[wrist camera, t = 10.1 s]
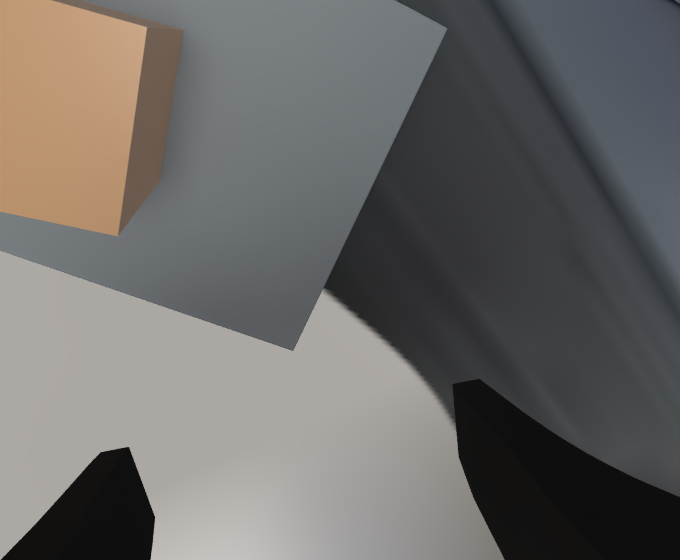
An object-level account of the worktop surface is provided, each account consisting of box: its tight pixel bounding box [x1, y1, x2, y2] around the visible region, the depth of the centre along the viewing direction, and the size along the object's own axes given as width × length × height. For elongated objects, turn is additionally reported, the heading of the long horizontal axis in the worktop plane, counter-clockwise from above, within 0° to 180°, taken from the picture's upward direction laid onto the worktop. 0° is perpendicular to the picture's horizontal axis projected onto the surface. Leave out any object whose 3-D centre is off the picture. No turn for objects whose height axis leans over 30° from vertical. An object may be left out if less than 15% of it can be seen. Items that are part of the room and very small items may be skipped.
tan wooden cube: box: [0, 0, 184, 236], centre depth 15 cm, size 5×5×6 cm
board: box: [0, 0, 447, 351], centre depth 16 cm, size 18×12×4 cm, turn 65°
